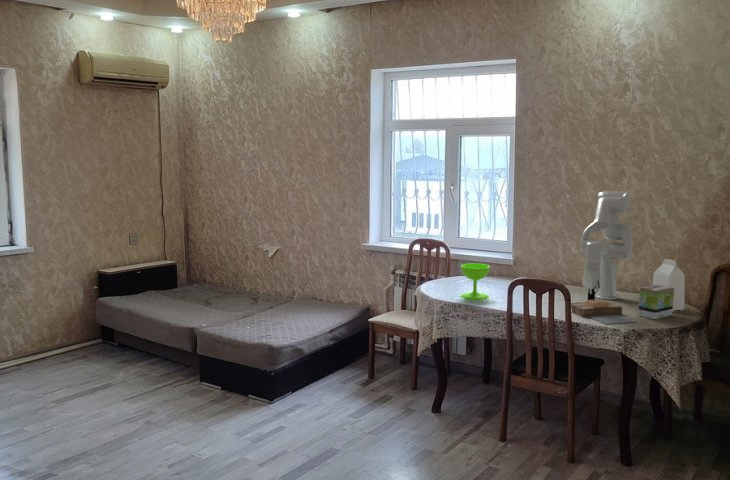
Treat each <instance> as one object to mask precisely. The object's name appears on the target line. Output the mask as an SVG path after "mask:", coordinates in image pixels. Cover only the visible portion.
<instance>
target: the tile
mask: <svg viewBox="0 0 730 480" xmlns="http://www.w3.org/2000/svg"><path fill="white" fill-rule="evenodd" d="M585 302H586V305H587V306H590V307H592V308H596V307H609V302H610V301H608V300H606V299H599V298H597V299H595V300H588V299H586V301H585Z"/></svg>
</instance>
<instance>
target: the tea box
mask: <svg viewBox="0 0 730 480" xmlns="http://www.w3.org/2000/svg"><path fill="white" fill-rule="evenodd" d="M673 298H674V288H673V287H667V286H662V285H647V286H642V287H640V291H639V300H638V301H639V303H638V314H637V316H639V317H642V318H647V319H652V320H655V319H656V320H658V319H661V318H667V317H671V316H673V311H672V310H673ZM670 315H671V316H670Z"/></svg>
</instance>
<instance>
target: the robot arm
mask: <svg viewBox="0 0 730 480" xmlns="http://www.w3.org/2000/svg"><path fill="white" fill-rule="evenodd" d="M631 203H632V195H631V193H630V192H628V191H615V190H613V191H611V190H607V191H606V190H605V191H600V192H599V193H598V194H597V205H596V209H595V214H594V218H593V222H592V223H590V224H589V225H588V226H587V227H586V228H585V229H584V230H583V232H582V234H581V238H580V243H579V250H580V252H581V253H582V254H585V263H584V270H583V274H582V286H583V287H584V288H585V289H586V290H587V291H586V292H587V300H596V299H603V300H606V301H608V300H610V301H611V300H613V301H614V300H618V299H619V295H618V294H617V293H616V292H617V279H618V277H617V275H618V266H617V264H616V263H615V261H614V260H617V261H618V260H619V261H628V260H630V259H631V257H632V253H633V242H634V241H633V239H634V238H633V237H634V229H633V226H632V224H630V223H628V222H627V223H626V222H620V214H624V213H625V212H627V211H628V209H629V207H630V205H631ZM599 231H601V232H602V237H603V238H604V239H606V240H612V241H606V240H599V239H589V238H590V236H592V235H593V234H594V233H597V232H599ZM613 240H614V241H613ZM615 240H616V241H622V242H616V241H615Z"/></svg>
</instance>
